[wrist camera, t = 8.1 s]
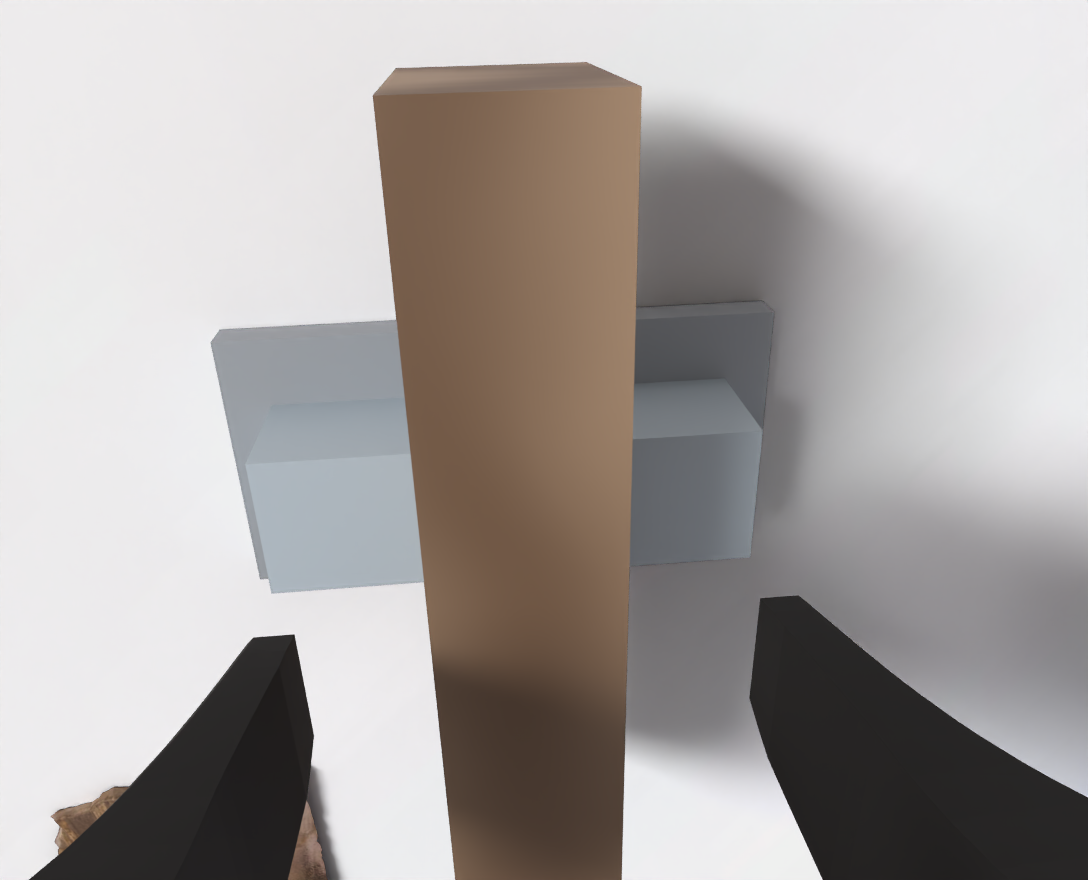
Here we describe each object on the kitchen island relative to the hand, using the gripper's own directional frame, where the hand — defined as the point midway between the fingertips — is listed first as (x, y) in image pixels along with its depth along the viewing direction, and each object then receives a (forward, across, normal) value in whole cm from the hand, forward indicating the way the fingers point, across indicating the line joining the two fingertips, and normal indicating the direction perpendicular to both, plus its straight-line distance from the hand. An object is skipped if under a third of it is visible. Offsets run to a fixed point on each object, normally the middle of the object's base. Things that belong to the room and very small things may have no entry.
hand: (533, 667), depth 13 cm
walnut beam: (+4, 0, 0) cm, 5 cm away
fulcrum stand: (+8, 0, 0) cm, 8 cm away
